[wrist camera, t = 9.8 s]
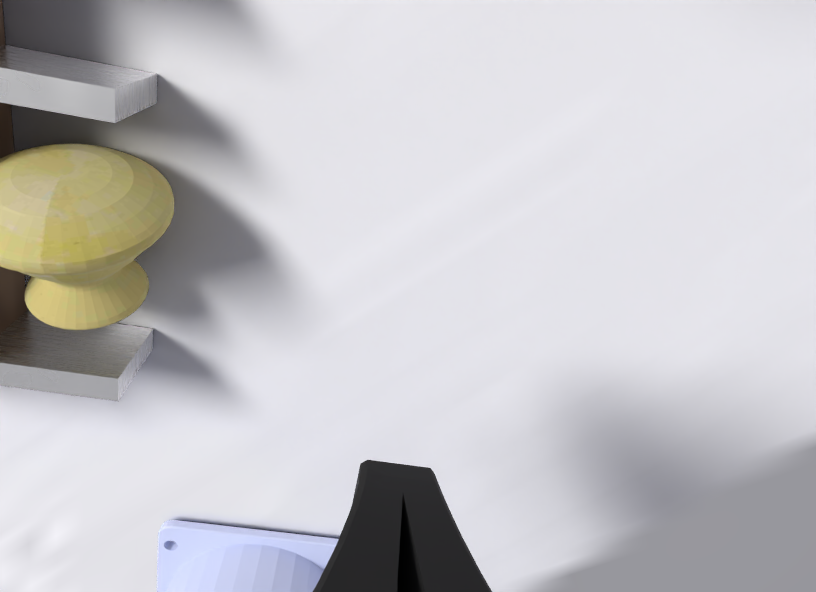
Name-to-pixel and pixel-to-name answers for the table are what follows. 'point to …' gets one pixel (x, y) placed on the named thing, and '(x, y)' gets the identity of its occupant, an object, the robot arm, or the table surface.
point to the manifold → (5, 289)
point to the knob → (81, 230)
